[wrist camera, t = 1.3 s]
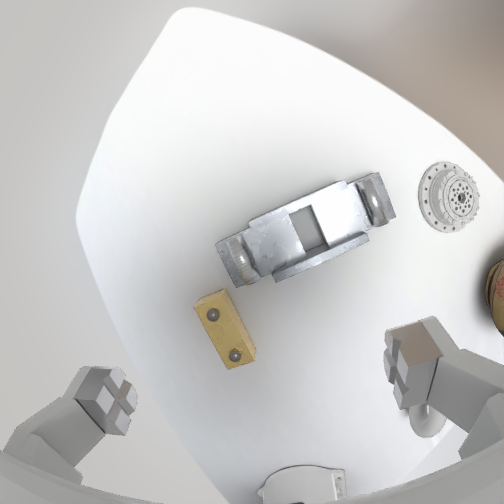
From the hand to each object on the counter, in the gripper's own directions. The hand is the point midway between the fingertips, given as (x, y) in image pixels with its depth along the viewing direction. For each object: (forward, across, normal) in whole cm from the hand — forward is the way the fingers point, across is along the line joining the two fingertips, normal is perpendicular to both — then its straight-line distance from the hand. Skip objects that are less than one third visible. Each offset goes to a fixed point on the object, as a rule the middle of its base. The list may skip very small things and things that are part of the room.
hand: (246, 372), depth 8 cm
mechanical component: (+31, +26, -6) cm, 41 cm away
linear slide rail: (+30, +4, -7) cm, 31 cm away
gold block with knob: (+28, -8, -18) cm, 34 cm away
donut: (+24, +20, -38) cm, 48 cm away
